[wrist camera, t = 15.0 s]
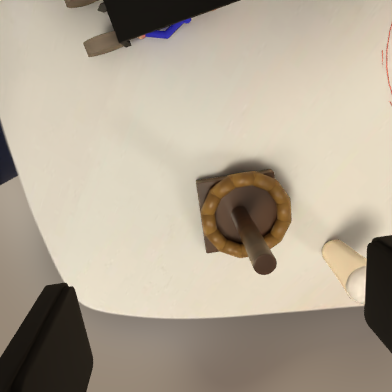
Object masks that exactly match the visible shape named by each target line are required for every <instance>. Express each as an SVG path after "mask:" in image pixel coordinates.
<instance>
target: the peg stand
mask: <svg viewBox="0 0 392 392" xmlns="http://www.w3.org/2000/svg"><path fill="white" fill-rule="evenodd" d="M256 172H259V173H261V174H264V175H267V176H269V177H272V178H274V179H275V175H274V171H272V170H271V169H267V170H261V171H256ZM227 176H228V175H227ZM227 176H221V177H214V178H207V179H201V180H196V185H197V192H198V199H199V206H200V213H201V209H202V207H203V204H204V202H205V200H206V197H207V195H208V193H209V190H210V189H211V188H212V187H214V186H215V185H216V184H218V183H219V182H220V181H221V180H223V179H224V178H225V177H227ZM215 218H216V226H217V229H218V230H219V231H220V232H221V234H222V235H223V236H224V237H225V238H226V239H227V240H230V241H233V242H236V243H239V244H243V245H244V247H245V249H246V252H247V254H248V256H249V259H250V261H251V263H252V266H253V268H254V270H255V271H256V272H257V273H259V274H261V275H266V274H269V273H271V272H273V271H274V269H275V268H276V264H277V262H276V259H275V257H274V255H273V254H272V252H271V250H270V249H269V247H268V245H267V243H266V242H265V240H264V238H263V237H264V236H266V235H267V234H268V233H270V232H271V230H272V228H273V226H274V224H275V222H276V220H277V207H276V202H275V201H274V199H273V198H272V197H271V195H270V194H269V193H268V191H266V190H263V189H261V188H258V187H255V186H253V185H251V186H245V187H238V188H235V189H233V190H232V191H231V192H229V193H228V194H227V195H225V196H224V197H223V198H221V200H220V203H219V205H218V207H217V209H216V212H215ZM201 219H202V218H201ZM202 226H203V225H202ZM203 233H204V232H203ZM204 240H205V247H206V253H212V252H219V251H218V250H217V249H216V247H215V246H214V245H213V244H212V243H211V242H210V240H209V239H208V238H207V237H206V236H205V235H204Z"/></svg>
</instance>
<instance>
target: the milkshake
mask: <svg viewBox="0 0 392 392" xmlns="http://www.w3.org/2000/svg"><path fill="white" fill-rule="evenodd" d="M322 255H323V258H324V260H325V261H326V263H327V264H328V266H329V267H330V268H331V270H332V271H333V273H334V274H335V276H336V277H337V279H338V280H339V281H340V283H341V285H342V286H343V288H344V289H345V291H346V292H347V294H348V296H349V297H350V298H351V299H352V300H354V301H355V302H357V303H361V304H365V285H366V262H367V259H366V258H365V257H363V256H362V255H360V254H359V253H357V252H356V251H355V250H353V249H352V248H351V247H349V246H348V245H347V244H345V243H344V242H342V241H341V240H339V239H338V240H330V241H329V242H327V243H326V244H324V247H323V249H322Z"/></svg>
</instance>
